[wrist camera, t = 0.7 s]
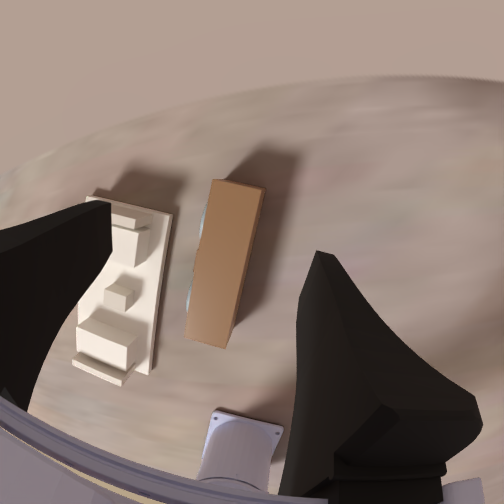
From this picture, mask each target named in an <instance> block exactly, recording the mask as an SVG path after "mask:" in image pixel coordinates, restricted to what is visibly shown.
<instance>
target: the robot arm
mask: <svg viewBox="0 0 504 504" xmlns="http://www.w3.org/2000/svg"><path fill="white" fill-rule="evenodd" d="M112 252H113V245H112V217H111V203H110V202H106V201H101V200H93V201H88V202H85V203H81V204H78V205H75V206H72V207H69V208H66V209H64V210H61V211H58V212H55V213H52V214H50V215H47V216H44V217H41V218H38V219H35V220H32V221H29V222H27V223H24V224H20V225H17V226H14V227H10V228H7V229H3V230H0V426H1V427H2V428H4V429H5V430H7V431H8V432H10V433H11V434H13V435H15V436H16V437H18V438H19V439H21V440H23V441H24V442H26V443H28V444H29V445H31V446H33V447H35V448H36V449H38V450H40V451H42V452H43V453H45V454H47V455H49V456H51V457H53V458H54V459H56V460H58V461H60V462H62V463H64V464H66V465H68V466H70V467H72V468H74V469H76V470H78V471H80V472H83V473H85V474H87V475H89V476H92V477H94V478H96V479H99V480H101V481H104V482H106V483H108V484H111V485H113V486H116V487H118V488H121V489H124V490H126V491H129V492H132V493H135V494H138V495H141V496H144V497H147V498H150V499H153V500H156V501H159V502H163V503H166V504H485V500H484V494H483V487H482V481H481V478H473V479H468V480H463V481H457V482H452V483H449V484H446V485H443V486H442V484H441V477H442V476H444V475H446V472H447V469H446V463H445V462H446V461H448V460H449V459H451V458H452V457H453V456H455V455H456V454H458V453H459V452H460V451H462V450H463V449H464V448H466V447H467V446H468V445H469V444H471V443H472V442H473V441H474V440H475V439H476V438H477V436H478V435H479V434H480V432H481V430H482V426H483V422H482V419H481V415H480V412H479V408H478V405H477V402H476V398H475V396H474V395H472V394H471V393H469V392H468V391H466V390H465V389H463V388H461V387H460V386H458V385H457V384H455V383H454V382H452V381H450V380H449V379H447V378H446V377H445V376H443V375H442V374H441V373H439V372H438V371H437V370H435V369H434V368H433V367H431V366H430V365H429V364H428V363H426V362H425V361H424V360H423V359H422V358H420V357H419V356H418V355H417V354H416V353H415V352H414V351H413V350H412V349H410V348H409V347H408V346H407V345H406V344H405V343H404V342H403V341H402V340H401V339H400V338H399V337H398V336H397V335H396V334H395V333H394V332H393V331H392V330H391V329H390V328H389V327H388V326H387V325H386V323H385V322H384V321H383V320H382V319H381V318H380V317H379V315H378V314H377V313H376V312H375V311H374V309H373V308H372V307H371V305H370V304H369V303H368V302H367V300H366V299H365V298H364V296H363V295H362V294H361V292H360V291H359V290H358V288H357V287H356V285H355V284H354V283H353V281H352V280H351V278H350V277H349V275H348V274H347V272H346V271H345V269H344V268H343V267H342V265H341V264H340V262H339V261H338V259H337V258H336V257H335V255H333V254H329V253H325V252H321V251H317V250H316V253H315V256H314V258H313V261H312V264H311V267H310V270H309V272H308V275H307V278H306V281H305V283H304V286H303V289H302V291H301V294H300V297H299V303H298V311H297V321H296V348H297V383H296V395H295V404H294V411H293V419H292V425H291V432H290V438H289V444H288V449H287V455H286V460H285V465H284V470H283V474H282V479H281V483H280V488H279V492H278V495H273V494H269V492H267V490H268V481H269V473H270V464H271V457H272V455H273V453H274V451H275V448H276V446H277V444H278V442H279V440H280V438H281V435H282V433H283V430H284V428H283V427H282V426H280V425H275V424H270V423H266V422H261V421H257V420H253V419H249V418H244V417H240V416H237V415H233V414H229V413H225V412H221V411H218V410H215V411H213V413H212V417H211V421H210V425H209V429H208V434H207V438H206V442H205V446H204V450H203V455H202V463H201V466H200V468H199V471H198V474H197V477H196V480H193V479H189V478H185V477H181V476H177V475H174V474H170V473H167V472H164V471H160V470H157V469H154V468H151V467H148V466H145V465H142V464H139V463H136V462H133V461H130V460H127V459H125V458H122V457H119V456H117V455H114V454H112V453H109V452H107V451H104V450H102V449H99V448H97V447H95V446H92V445H90V444H88V443H86V442H83V441H81V440H79V439H77V438H75V437H72V436H70V435H68V434H66V433H64V432H62V431H60V430H58V429H56V428H54V427H52V426H50V425H49V424H47V423H45V422H43V421H41V420H39V419H37V418H36V417H34V416H32V415H30V414H29V413H27V410H28V406H29V403H30V399H31V396H32V393H33V389H34V386H35V383H36V381H37V378H38V375H39V373H40V370H41V368H42V365H43V363H44V360H45V358H46V356H47V354H48V352H49V349H50V347H51V345H52V343H53V341H54V339H55V337H56V335H57V334H58V332H59V330H60V328H61V326H62V324H63V323H64V321H65V320H66V318H67V316H68V315H69V313H70V312H71V311H72V309H73V308H74V307H75V305H76V304H77V303H78V301H79V300H80V299H81V297H82V296H83V295H84V293H85V292H86V291H87V290H88V288H89V287H90V286H91V284H92V283H93V282H94V280H95V279H96V278H97V276H98V275H99V274H100V272H101V271H102V269H103V268H104V266H105V264H106V263H107V261H108V259H109V257H110V255H111V254H112ZM215 417H217V418H215ZM1 427H0V504H142V503H139V502H137V501H134V500H132V499H129V498H127V497H124V496H122V495H119V494H117V493H115V492H112V491H110V490H108V489H106V488H103V487H101V486H99V485H97V484H95V483H93V482H91V481H89V480H87V479H84V478H82V477H80V476H78V475H77V474H75V473H73V472H72V471H70V470H68V469H67V468H65V467H63V466H62V465H60V464H58V463H56V462H54V461H53V460H51V459H50V458H48V457H46V456H44V455H43V454H41V453H40V452H38V451H36V450H35V449H33V448H31V447H30V446H28V445H26V444H25V443H23V442H21V441H20V440H18V439H17V438H15V437H13V436H12V435H10V434H9V433H7V432H6V431H4V430H3V429H2V428H1ZM277 432H279V433H277Z"/></svg>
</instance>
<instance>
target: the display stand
mask: <svg viewBox="0 0 504 504" xmlns="http://www.w3.org/2000/svg"><path fill="white" fill-rule="evenodd" d="M93 200H101V201H106V202H110V203H111V217H112V245H113V252H112V254H111V255H110V257H109V259H108V261H107V263H106V264H105V266H104V268H103V269H102V271H101V272H100V274H99V275H98V276H97V278H96V279H95V280H94V282H93V283H92V284H91V286H90V287H89V288H88V290H87V291H86V292H85V293H84V295H83V296H82V297H81V299H80V300H79V301H78V325H77V326H76V339H77V351H79V353H78V354H77V355H76V356H75V357H74V358H73V359H72V364H73V365H74V366H76V367H78V368H80V369H82V370H84V371H86V372H89V373H91V374H93V375H95V376H97V377H100V378H102V379H104V380H106V381H109V382H111V383H114V384H116V385H118V386H121V387H122V385H123V384H124V383H125V382H126V380H127V379H128V378H129V377H130V375H131V374H132V373H133V372H134V370H136V371H138V372H141V373H144V374H146V375H149V373H150V372H151V370H152V360H153V350H154V341H155V332H156V324H157V316H158V308H159V300H160V293H161V286H162V279H163V273H164V266H165V260H166V254H167V248H168V242H169V236H170V230H171V225H172V219H173V214H169V213H165V212H161V211H156V210H152V209H148V208H144V207H140V206H136V205H131V204H127V203H123V202H119V201H114V200H110V199H106V198H101V197H97V196H93V195H90V196H86V202H88V201H93ZM77 205H78V204H77Z"/></svg>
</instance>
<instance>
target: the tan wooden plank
mask: <svg viewBox="0 0 504 504" xmlns="http://www.w3.org/2000/svg"><path fill="white" fill-rule="evenodd" d="M265 190H266V188H261V187H257V186H253V185H248V184H244V183H239V182H235V181H230V180H225V179H213V180H212V185H211V189H210V194H209V199H208V202H207V204H206V206H205V209H204V212H203V215H202V219H201V224H200V244H199V249H198V250H197V253H196V258H195V264H194V270H193V272H194V277H193V280H192V283H191V286H190V289H189V292H188V296H187V302H186V310H187V312H188V313H187V319H186V325H185V332H184V338H188V339H191V340H194V341H198V342H201V343H205V344H208V345H212V346H215V347H219V348H223V349H226V346H227V343H228V341H229V338H230V336H231V333H232V331H233V328H234V324H235V320H236V316H237V311H238V307H239V303H240V298H241V294H242V290H243V285H244V281H245V277H246V273H247V268H248V264H249V260H250V255H251V251H252V247H253V242H254V238H255V234H256V229H257V225H258V221H259V216H260V212H261V208H262V203H263V199H264V195H265Z"/></svg>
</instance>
